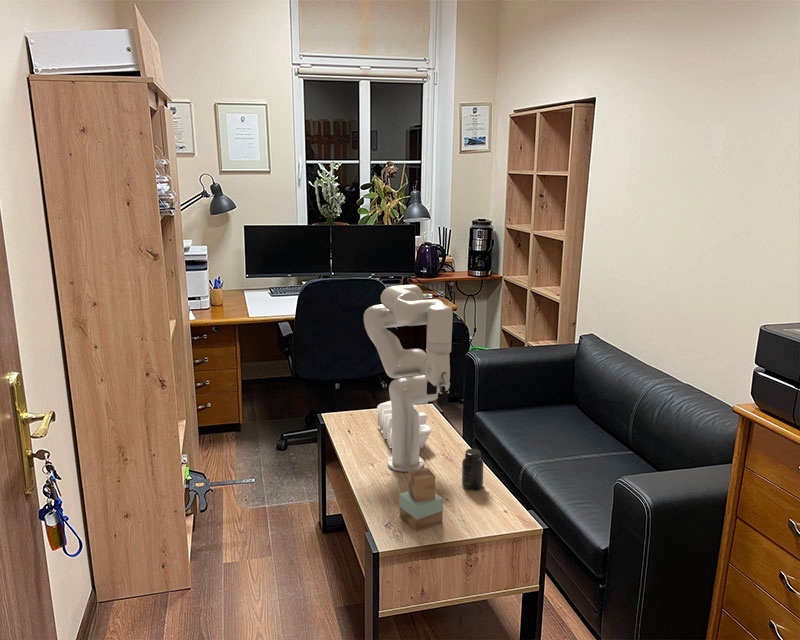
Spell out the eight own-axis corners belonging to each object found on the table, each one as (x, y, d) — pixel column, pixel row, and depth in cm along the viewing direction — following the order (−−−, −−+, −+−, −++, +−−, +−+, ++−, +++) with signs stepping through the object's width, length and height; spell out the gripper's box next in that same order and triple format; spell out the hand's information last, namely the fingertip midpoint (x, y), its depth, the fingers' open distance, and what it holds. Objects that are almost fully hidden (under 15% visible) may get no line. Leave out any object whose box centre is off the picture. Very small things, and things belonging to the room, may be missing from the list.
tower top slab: (399, 506, 190) (399, 493, 189) (424, 498, 195) (424, 486, 194) (416, 519, 183) (417, 506, 182) (442, 510, 188) (442, 498, 187)
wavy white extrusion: (374, 420, 267) (374, 396, 264) (414, 418, 270) (414, 393, 267) (389, 456, 233) (389, 428, 231) (434, 452, 236) (434, 425, 234)
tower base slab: (399, 518, 191) (399, 505, 191) (425, 510, 196) (425, 498, 195) (416, 532, 184) (416, 519, 183) (442, 523, 188) (442, 511, 188)
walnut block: (408, 492, 190) (408, 470, 189) (427, 489, 192) (428, 467, 190) (415, 502, 185) (415, 479, 183) (435, 499, 186) (435, 476, 185)
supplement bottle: (469, 479, 215) (470, 445, 213) (486, 485, 211) (488, 450, 209) (457, 486, 210) (458, 452, 208) (475, 493, 206) (476, 457, 203)
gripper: (417, 339, 202) (416, 391, 207) (437, 355, 186) (435, 411, 191) (440, 337, 204) (438, 388, 209) (461, 353, 189) (459, 408, 193)
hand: (437, 399), depth 200 cm, fingers open, 9 cm apart
